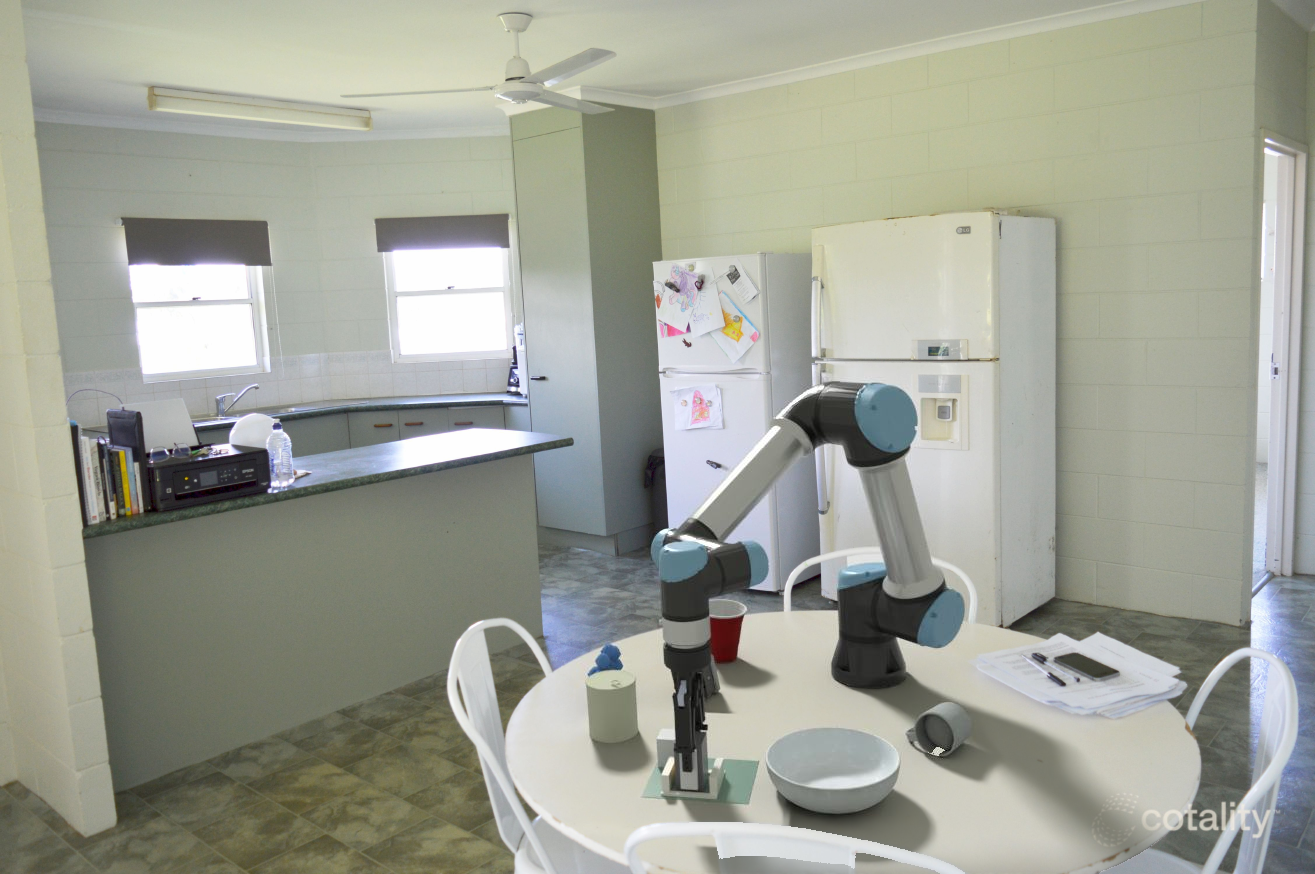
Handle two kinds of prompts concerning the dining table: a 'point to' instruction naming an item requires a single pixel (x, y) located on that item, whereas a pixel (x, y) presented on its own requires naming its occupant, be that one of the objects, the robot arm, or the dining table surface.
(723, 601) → the plastic cup
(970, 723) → the ceramic mug
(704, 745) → the plug
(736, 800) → the board
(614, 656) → the grapes
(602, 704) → the can
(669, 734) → the plug
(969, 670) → the dining table surface
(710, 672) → the electrical switch
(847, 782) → the serving bowl
